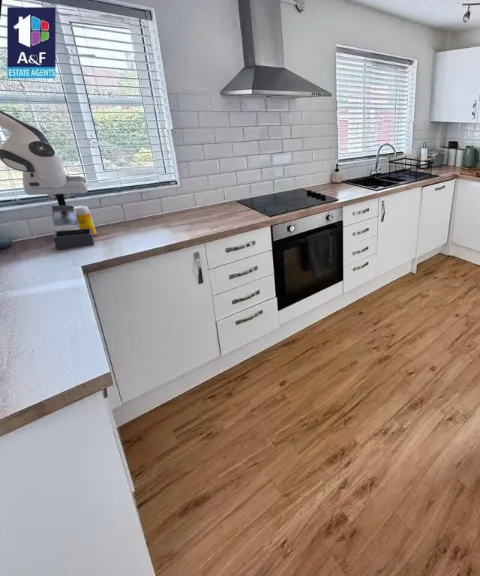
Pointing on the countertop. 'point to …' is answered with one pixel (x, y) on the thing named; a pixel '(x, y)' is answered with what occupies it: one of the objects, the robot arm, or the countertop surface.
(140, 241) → the countertop surface
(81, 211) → the glass of beer
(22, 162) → the robot arm
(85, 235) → the bin
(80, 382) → the countertop surface
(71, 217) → the grey square piece
